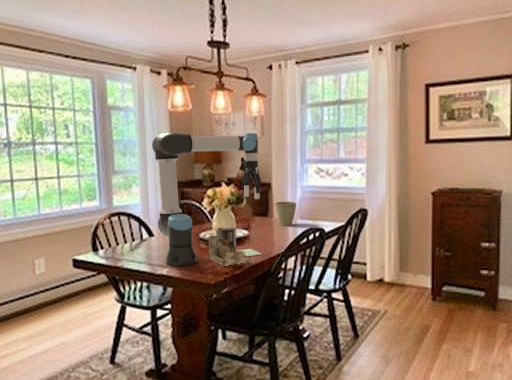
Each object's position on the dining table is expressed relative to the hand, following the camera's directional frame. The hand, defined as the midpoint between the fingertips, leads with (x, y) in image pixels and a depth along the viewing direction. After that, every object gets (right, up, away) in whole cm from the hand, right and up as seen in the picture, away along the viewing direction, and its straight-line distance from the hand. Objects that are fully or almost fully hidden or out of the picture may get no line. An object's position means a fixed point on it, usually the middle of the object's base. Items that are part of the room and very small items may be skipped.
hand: (251, 197), depth 252 cm
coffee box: (-12, -31, -29) cm, 44 cm away
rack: (-11, -31, -30) cm, 45 cm away
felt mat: (-3, -30, -17) cm, 34 cm away
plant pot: (+24, -21, +63) cm, 70 cm away
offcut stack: (-8, -32, -35) cm, 48 cm away
